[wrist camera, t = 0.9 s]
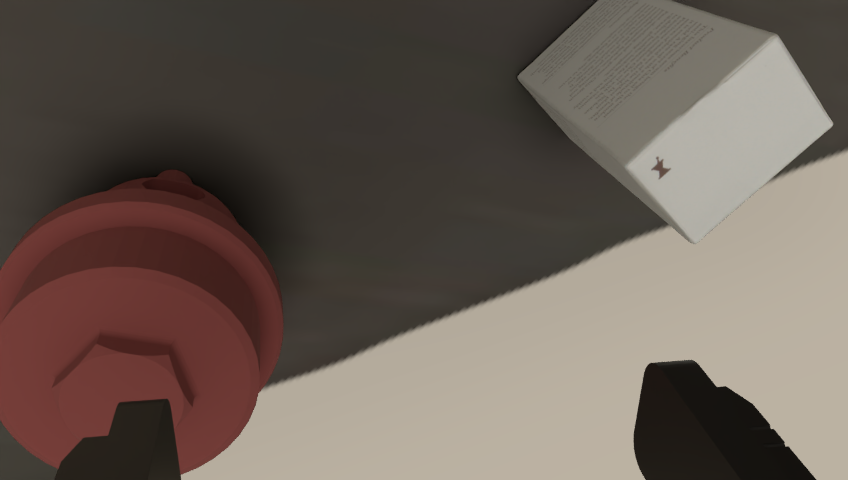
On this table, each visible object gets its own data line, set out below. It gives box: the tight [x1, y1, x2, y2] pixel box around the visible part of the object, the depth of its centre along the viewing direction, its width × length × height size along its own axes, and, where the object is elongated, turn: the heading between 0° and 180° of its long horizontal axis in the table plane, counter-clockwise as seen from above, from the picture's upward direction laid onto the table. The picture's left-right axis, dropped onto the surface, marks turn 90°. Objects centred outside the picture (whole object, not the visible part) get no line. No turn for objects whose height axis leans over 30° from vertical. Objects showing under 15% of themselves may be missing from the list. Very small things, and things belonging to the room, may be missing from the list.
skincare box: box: [517, 0, 833, 244], centre depth 31 cm, size 6×4×12 cm
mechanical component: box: [0, 169, 283, 475], centre depth 30 cm, size 12×10×10 cm
